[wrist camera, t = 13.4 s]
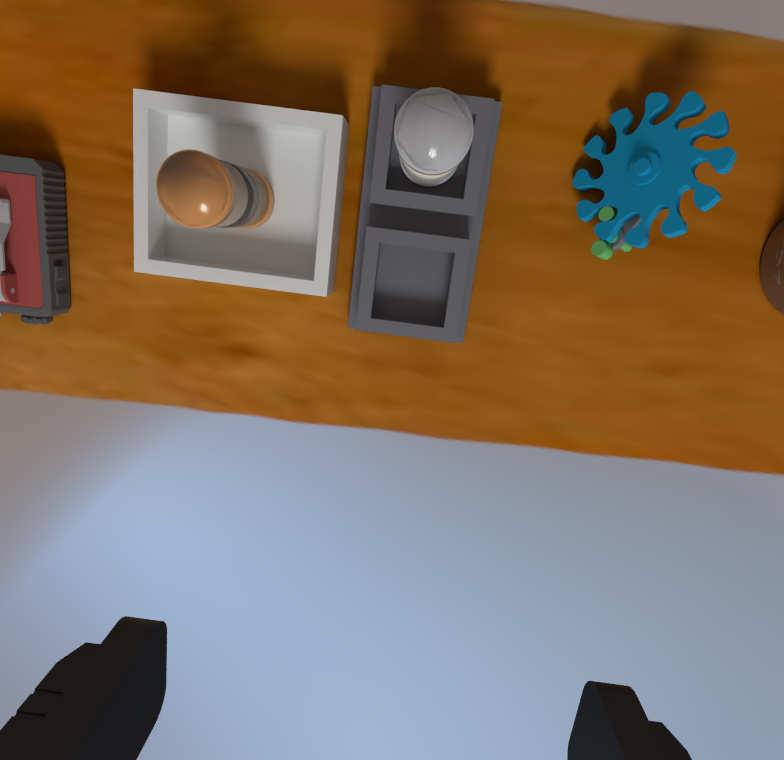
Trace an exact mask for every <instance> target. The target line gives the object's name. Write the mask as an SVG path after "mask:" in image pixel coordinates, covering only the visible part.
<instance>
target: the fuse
mask: <svg viewBox="0 0 784 760" xmlns="http://www.w3.org/2000/svg"><path fill="white" fill-rule="evenodd" d="M473 132H474V127H473V119H472V116H471V113H470V110H469V108H468V106H467V105H466V103H465V102H464V101H463V100H462V99H461V98H460V97H459V96H458V95H457V94H455V93H454V92H452V91H450V90H447V89H444V88H439V87H431V88H426V89H422V90H420V91H418V92H416V93H414V94H413V95H412V96H410V97H409V98H408V99H407V100H406V101H405V102H404V104H403V105H402V106H401V108H400V110H399V112H398V114H397V117H396V120H395V126H394V136H395V142H396V147H397V150H398V152H399V159H400V164H401V167H402V170H403V172H404V173H405V175H406V176H407V178H408V179H409V180H410V181H412V182H413V183H415V184H417V185H419V186H422V187H435V186H439V185H441V184H443V183H444V182H446V181H447V180H448V179H449V178H450V177H451V176H452V175H453V173H454V172H455V170H456V168H457V166H458V164H459V163H460V162H461V161H462V160H463V158H464V157H465V155H466V154H467V152H468V150H469V148H470V146H471V143H472V139H473Z"/></svg>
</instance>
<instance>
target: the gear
mask: <svg viewBox="0 0 784 760" xmlns="http://www.w3.org/2000/svg"><path fill="white" fill-rule="evenodd" d="M669 105H670V99H669V98H668V96H667V95H666V94H664V93H650V94H649V95H648V96H647V98H646V100H645V113H644V117H643V119H642V121H641V123H640V125H639V126H638V128H637V129H636V131H635V132H634V133H632V134H630V135H627V131H628V129H629V128H630V126H631V125H632V123H633V120H634V115H633V114H632V112H631V111H630V110H629V109H628V108H624V109H621V110H619V111H617V112H615V113H613V114H611V117H610V122H611V124H612V125H613V126H614V128H615V130H616V135H617V139H616V146H615V149H614V151H613V152H612V153H610V154H608V155H606V142H605V141H604V140H603V139H601V138H600V137H599V136H597V135H596V136H594V137H593V138H592V139H591V140H590V141H589V142H588V143H587V144H586V145H585V147H584V152H585V153H586V154H587V155H589V156H590V157H591V158H594V159H598V160H600V162H601V163H602V166H603V168H604V172H603V174H602V176H601V177H600V178H598V179H595V180H594V178H593V176H592V174H590V173H589V172H588V171H587V170H585V169H579V170H578V171H577V173H576V175H575V177H574V180H573V183H572V185H573V186H574V187H575V188H576V189H578V190H580V191H585V190H588V189H600V190H602V191H604V198H603V199H602V201H600V202H599V203H592V202H590V201H588V200H582V201H580V202H579V203H578V204H577V214H578V218H579V219H581V220H582V221H585V222H586V221H590V220H592V219H593V218H594V217H595V216H597V215H598V216H599V219H600V220H601V221H603V222H600V223H598V224H597V225H596V226H595V228H594V232H595V233H596V235H597V236H598V237H599V238H600V240H599V241H596V242H595V243H594V244H593V245H592V247H591V252H592V253H593V254H594V255H595V256H597V257H599V258H601V259H603V260H607V259H609V258H610V257H611V256H612V255H613V252H614V250H617V249H619V248H620V249H621V250H623V251H625V252H628V251H630V250H631V249H632V246H633V247H637V248H645V247H646V246H647V244H648V242H649V229H650V226H651V224H652V222H653V220H654V218H655V217H656V216H657V214H658V213H659V212H660V211H661V210H663V209H669V215H668V216H667V218H666V219H665V220H664V222H663V223H662V226H661V231H662V233H663V234H664V235H665V236H666V237H676V236H679V235H682V234H684V233H686V232H687V228H688V227H687V224H686V222H685V221H684V220H683V218H682V217H681V214H680V209H679V208H680V199H681V196H682V194H683V193H684V192H685V191H687V190H689V189H694V190H695V193H694V204H695V205H696V206H697V207H698V208H699V209H700V210H701V211H704V212H705V211H707V210H709V209H710V208H712V207H713V206H714V205H715V204H716V203H717V202H718V201H719V200H720V199H721V195H720V194H719V192H718V191H717V190H716V189H715V188H714V187H711V186H706V185H703V184H701V183H700V182H698V180H697V178H696V176H695V169H696V167H697V166H698V165H699V164H701V163H703V162H709V163H710V164H711V166H712V167H713V168H714V170H715V171H716V172H717V173H720V174H726V173H728V172H729V171H730V170H731V168H732V166H733V164H734V162H735V159H736V156H737V154H736V153H735V151H734V150H733V149H732V148H730V147H723V148H720V149H717V150H711V151H705V150H700V149H697V148H695V147H693V145H694V142H695V141H696V140H697V139H698V138H699V137H701V136H705V135H706V136H710V137H712V138H716V139H718V138H722V137H724V136H726V135H727V134H728V133H729V122H728V119H727V116H726V115H725V113H724V111H718V112H716V113H714V114H712V115H711V116H710V117H709V118H707V119H706V120H705V121H703V122H702V123H700V124H698V125H696V126H694V127H690V128H686V129H678V126H679V124H680V123H681V121H683V120H684V119H687V118H691V117H696V116H698V115H700V114H701V113H702V112H703V111H704V110H705V108H706V105H705V103H704V102H703V100H702V98H701V97H700V96H699V95H698V94H696V93H695V92H693V91H690V92H688V93H687V94H686V95H685V96H684V97H683V98H682V100H681V102H680V104H679V106H678V108H677V109H676V110H675V112H674V113H673V114H672V115H671V116H670V117H668V118H667V119H666V120H664V121H663V122H661V123H660V124H658V125H653V122H654V120H655V119H656V118H657V117H658V116H659V115H661V114H662V113H664V112H665V111H666V110H667V109H668V107H669ZM614 209H617V210H618V212H617V211H616V210H614ZM639 222H640V223H639Z"/></svg>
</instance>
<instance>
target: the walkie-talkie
mask: <svg viewBox="0 0 784 760" xmlns="http://www.w3.org/2000/svg"><path fill="white" fill-rule="evenodd" d="M64 182H65V179H64V172H63V171H62V170H61V168H60V167H59V166H58V165H57V164H56V163H54V162H48V161H43V160H37V159H31V158H23V157H15V156H7V155H0V315H1V316H2V312H5V313H13V314H21V320H22V322H24V323H27V324H48V323H51V322H52V321H53V316H54V315H58V314H62V313H66V312H68V310H69V309H70V308H71V302H70V281H69V259H68V252H67V248H68V245H67V241H68V238H67V231H66V226H67V224H66V219H67V217H66V209H65V204H66V202H65V197H66V195H65V187H64Z"/></svg>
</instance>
